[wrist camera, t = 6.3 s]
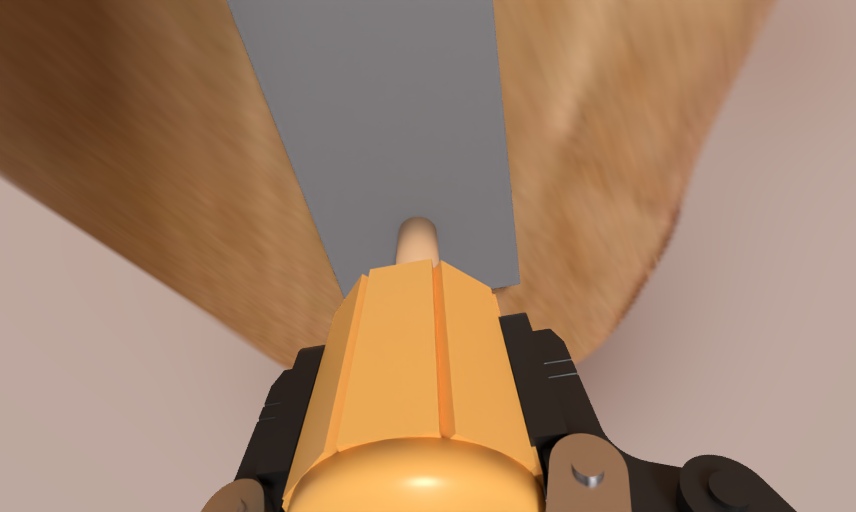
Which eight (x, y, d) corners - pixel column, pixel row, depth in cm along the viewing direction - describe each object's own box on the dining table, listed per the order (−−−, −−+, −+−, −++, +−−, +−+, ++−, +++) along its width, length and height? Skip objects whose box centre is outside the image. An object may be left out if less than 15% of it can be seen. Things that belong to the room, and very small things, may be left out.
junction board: (226, -48, 13) (131, -73, 9) (473, -113, 12) (503, -175, 8) (354, 293, 20) (337, 370, 16) (513, 265, 19) (540, 338, 15)
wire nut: (315, 278, 11) (226, 510, 6) (488, 248, 11) (552, 468, 6) (364, 393, 14) (330, 626, 8) (506, 372, 13) (560, 603, 8)
